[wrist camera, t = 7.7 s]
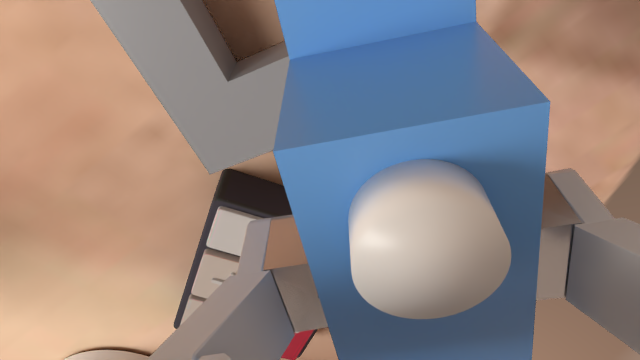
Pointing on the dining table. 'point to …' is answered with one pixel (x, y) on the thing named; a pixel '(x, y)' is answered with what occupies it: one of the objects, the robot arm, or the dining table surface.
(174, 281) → the dining table surface
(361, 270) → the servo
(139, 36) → the chassis deck
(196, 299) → the calculator
